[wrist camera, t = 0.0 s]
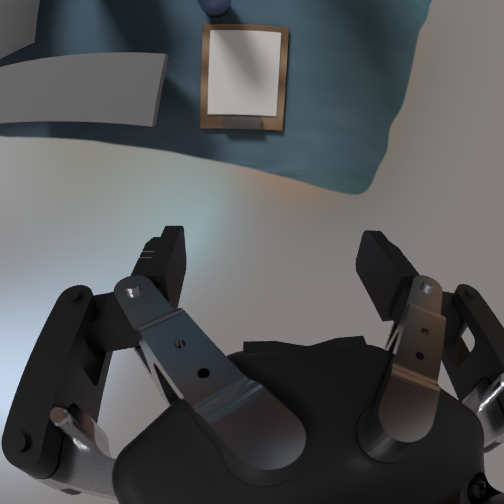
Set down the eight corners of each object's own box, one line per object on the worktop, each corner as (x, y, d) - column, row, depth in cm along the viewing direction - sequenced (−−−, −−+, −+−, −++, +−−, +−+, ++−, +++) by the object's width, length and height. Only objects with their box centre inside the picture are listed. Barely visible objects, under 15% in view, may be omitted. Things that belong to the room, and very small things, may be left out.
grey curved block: (184, 62, 31) (165, 53, 22) (173, 116, 35) (152, 126, 26) (38, 64, 27) (-6, 68, 18) (33, 110, 31) (-10, 124, 22)
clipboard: (204, 25, 28) (202, 22, 27) (287, 28, 29) (290, 26, 27) (200, 127, 36) (199, 129, 35) (281, 129, 37) (283, 131, 35)
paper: (210, 30, 28) (210, 30, 28) (280, 33, 29) (281, 32, 29) (207, 114, 35) (207, 114, 34) (275, 115, 35) (276, 116, 35)
